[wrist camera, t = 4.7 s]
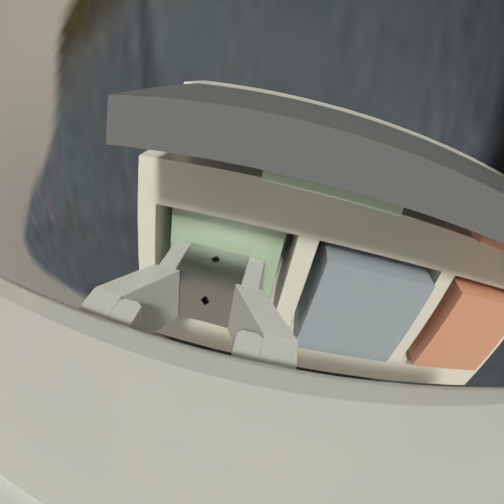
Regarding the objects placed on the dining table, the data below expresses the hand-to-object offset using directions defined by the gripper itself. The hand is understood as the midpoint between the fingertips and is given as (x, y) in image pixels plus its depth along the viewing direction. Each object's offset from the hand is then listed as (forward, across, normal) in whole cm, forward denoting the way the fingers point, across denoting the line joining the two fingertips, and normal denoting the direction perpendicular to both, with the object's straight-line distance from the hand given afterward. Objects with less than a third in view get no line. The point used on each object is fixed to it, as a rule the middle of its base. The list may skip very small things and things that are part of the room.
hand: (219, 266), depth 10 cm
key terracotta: (+1, -10, 0) cm, 10 cm away
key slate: (+1, -5, 0) cm, 5 cm away
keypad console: (+5, -5, -1) cm, 7 cm away
